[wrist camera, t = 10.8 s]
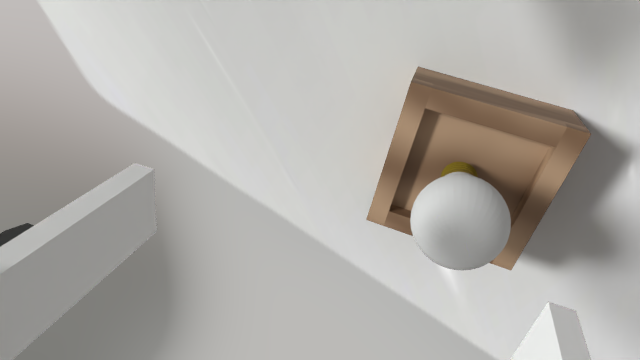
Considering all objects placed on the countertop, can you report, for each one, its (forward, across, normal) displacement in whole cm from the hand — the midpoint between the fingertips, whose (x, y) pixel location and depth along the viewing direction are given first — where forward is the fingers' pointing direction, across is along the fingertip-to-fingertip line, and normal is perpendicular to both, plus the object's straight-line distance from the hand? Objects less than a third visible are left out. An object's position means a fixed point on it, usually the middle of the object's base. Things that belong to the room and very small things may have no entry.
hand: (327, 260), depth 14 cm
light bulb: (+20, +6, -5) cm, 21 cm away
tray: (+24, +6, -5) cm, 25 cm away
